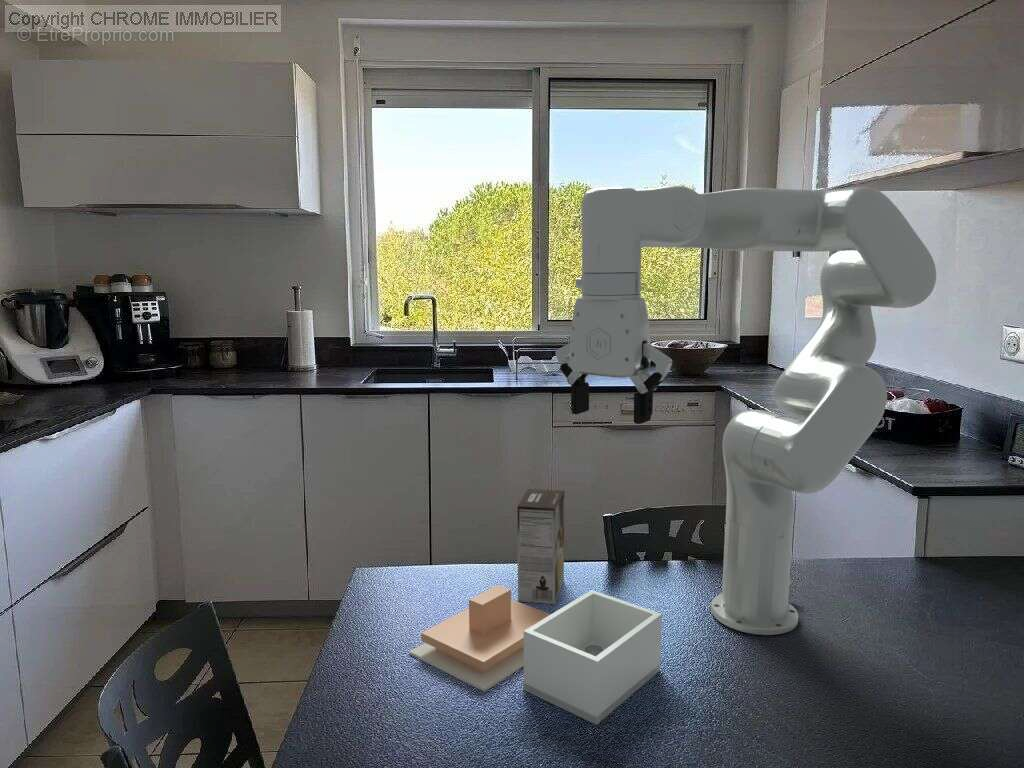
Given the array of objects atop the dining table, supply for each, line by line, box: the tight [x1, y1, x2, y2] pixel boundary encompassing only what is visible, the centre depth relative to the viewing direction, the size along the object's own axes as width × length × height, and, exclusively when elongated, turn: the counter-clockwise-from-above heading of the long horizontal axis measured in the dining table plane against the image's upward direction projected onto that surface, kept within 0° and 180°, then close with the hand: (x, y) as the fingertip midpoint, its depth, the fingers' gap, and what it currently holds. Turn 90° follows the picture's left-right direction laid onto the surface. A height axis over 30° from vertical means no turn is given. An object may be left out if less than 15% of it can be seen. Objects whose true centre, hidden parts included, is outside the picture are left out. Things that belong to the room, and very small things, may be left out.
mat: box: [408, 642, 524, 693], centre depth 103 cm, size 18×14×1 cm
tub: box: [523, 589, 663, 726], centre depth 94 cm, size 15×11×8 cm
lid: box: [420, 584, 552, 673], centre depth 103 cm, size 16×12×7 cm
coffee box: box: [516, 488, 565, 605], centre depth 119 cm, size 9×6×16 cm
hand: (610, 417), depth 97 cm, fingers open, 9 cm apart
